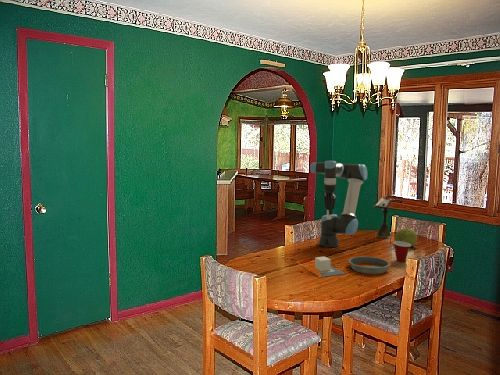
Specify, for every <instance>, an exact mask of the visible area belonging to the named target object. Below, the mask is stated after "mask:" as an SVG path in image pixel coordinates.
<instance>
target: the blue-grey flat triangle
mask: <svg viewBox="0 0 500 375" xmlns="http://www.w3.org/2000/svg"><path fill="white" fill-rule="evenodd" d="M340 275H341V276H342V275H346V273H345V272H343V271H342V270H339V269H338V268H336V267H334V266H332V265H331V271H325V272H321V278H326V277H325V276H328V277H333V276H340ZM318 276H319V275H318Z"/></svg>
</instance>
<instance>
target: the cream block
mask: <svg viewBox="0 0 500 375" xmlns="http://www.w3.org/2000/svg"><path fill="white" fill-rule="evenodd" d="M314 258H315V269H317V270H318V271H320V272H325V271H331V266H332V265H331V263H332V259H331V258H328V257H326V256H318V257H316V256H315V257H314Z"/></svg>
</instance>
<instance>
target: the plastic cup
mask: <svg viewBox="0 0 500 375" xmlns="http://www.w3.org/2000/svg"><path fill="white" fill-rule="evenodd" d="M393 245H394V246H393V247H394V252H395V259H396V261H397V262H399V263H400V262H401V263H404V262H406V260H407V256H408V253H409V249H410V248H411V247H410V246H411V244H409V243H406V242H401V241H395V240H394V241H393Z"/></svg>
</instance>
